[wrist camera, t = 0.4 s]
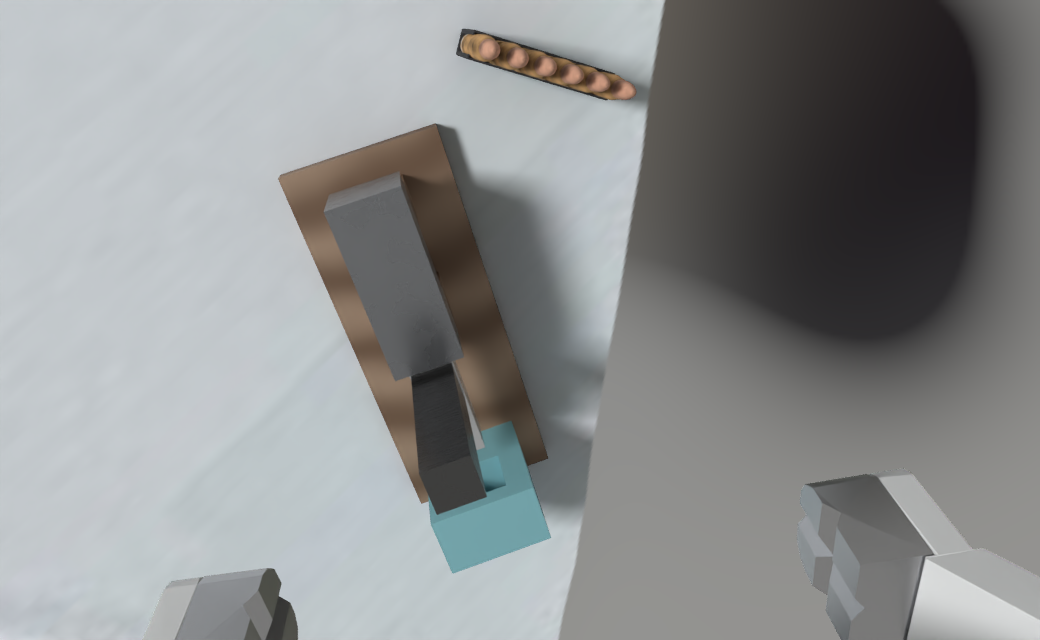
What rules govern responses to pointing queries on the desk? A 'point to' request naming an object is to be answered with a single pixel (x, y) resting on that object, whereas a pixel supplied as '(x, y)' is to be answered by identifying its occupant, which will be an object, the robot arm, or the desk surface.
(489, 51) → the ammunition clip
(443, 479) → the dark grey upright post
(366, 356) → the base board
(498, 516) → the socket block
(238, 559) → the desk surface
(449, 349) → the outer sleeve
